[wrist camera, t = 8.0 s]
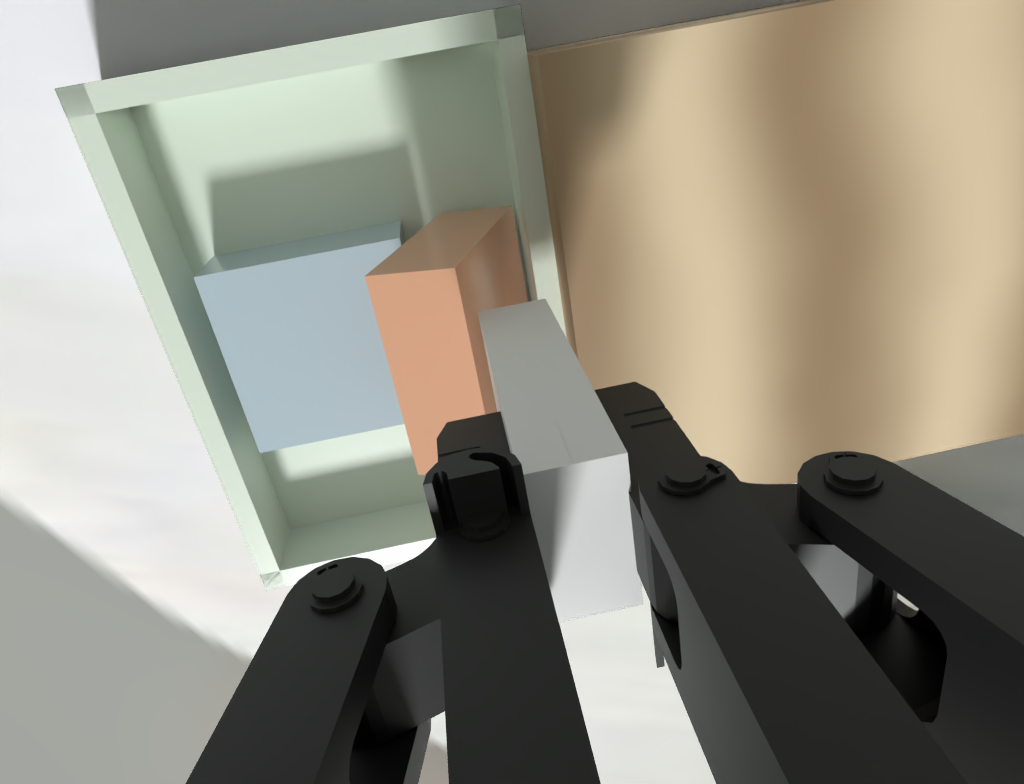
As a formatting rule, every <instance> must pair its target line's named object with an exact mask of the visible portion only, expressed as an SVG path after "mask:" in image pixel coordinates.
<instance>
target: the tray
mask: <svg viewBox="0 0 1024 784" xmlns="http://www.w3.org/2000/svg"><path fill="white" fill-rule="evenodd" d="M55 91H56V93H57V96H58V98H59V100H60V103H61V105H62V107H63V110H64V112H65V115H66V117H67V119H68V122H69V124H70V126H71V129H72V131H73V134H74V136H75V138H76V141H77V143H78V145H79V148H80V150H81V153H82V155H83V157H84V160H85V162H86V164H87V167H88V169H89V172H90V174H91V176H92V179H93V181H94V183H95V186H96V188H97V191H98V193H99V195H100V198H101V200H102V202H103V205H104V207H105V209H106V212H107V214H108V217H109V219H110V221H111V224H112V226H113V228H114V231H115V233H116V236H117V238H118V240H119V243H120V245H121V247H122V250H123V252H124V255H125V257H126V259H127V262H128V264H129V266H130V269H131V271H132V274H133V276H134V278H135V281H136V283H137V285H138V288H139V290H140V293H141V295H142V297H143V300H144V302H145V304H146V307H147V309H148V312H149V314H150V316H151V319H152V321H153V323H154V326H155V328H156V331H157V333H158V335H159V338H160V340H161V342H162V345H163V347H164V350H165V352H166V354H167V357H168V359H169V361H170V364H171V366H172V369H173V371H174V373H175V376H176V378H177V380H178V383H179V385H180V388H181V390H182V392H183V395H184V397H185V399H186V402H187V404H188V406H189V409H190V411H191V414H192V416H193V418H194V421H195V423H196V425H197V428H198V430H199V433H200V435H201V437H202V440H203V442H204V444H205V447H206V449H207V452H208V454H209V456H210V459H211V461H212V463H213V466H214V468H215V471H216V473H217V475H218V478H219V480H220V482H221V485H222V487H223V490H224V492H225V494H226V497H227V499H228V501H229V504H230V506H231V509H232V511H233V513H234V516H235V518H236V520H237V523H238V525H239V528H240V530H241V532H242V535H243V537H244V539H245V542H246V544H247V547H248V549H249V551H250V554H251V556H252V558H253V561H254V563H255V566H256V568H257V570H258V573H259V575H260V577H261V580H262V582H263V585H264V587H265V589H266V590H270V589H275V588H279V587H284V586H289V585H294V584H296V583H297V582H298V580H299V579H301V578H302V577H304V576H305V575H306V574H308V573H309V572H310V571H312V570H313V569H314V568H317V567H319V566H321V565H323V564H326V563H328V562H330V561H333V560H337V559H343V558H348V557H360V558H369V559H371V560H373V561H375V562H377V563H379V564H380V565H381V566H383V565H388V564H392V563H397V562H402V561H406V560H411V559H413V558H415V557H417V556H418V555H419V554H421V553H422V552H423V551H424V550H426V549H427V548H428V547H429V546H430V545H431V544H432V542H433V541H434V540H435V539H436V533H435V529H434V525H433V522H432V518H431V514H430V510H429V507H428V503H427V499H426V495H425V492H424V488H423V482H424V479H425V476H426V475H418V472H417V469H416V465H415V461H414V457H413V454H412V450H411V446H410V443H409V439H408V435H407V431H406V428H405V424H402V425H397V426H392V427H387V428H382V429H377V430H372V431H367V432H362V433H357V434H352V435H347V436H342V437H337V438H333V439H328V440H323V441H318V442H313V443H308V444H303V445H298V446H293V447H288V448H283V449H278V450H273V451H268V452H263V453H260V452H259V450H258V447H257V445H256V442H255V439H254V437H253V434H252V431H251V429H250V426H249V423H248V421H247V418H246V415H245V413H244V410H243V408H242V405H241V402H240V400H239V397H238V394H237V392H236V389H235V386H234V384H233V381H232V378H231V376H230V373H229V370H228V368H227V365H226V363H225V360H224V357H223V355H222V352H221V349H220V347H219V344H218V341H217V339H216V336H215V333H214V331H213V328H212V326H211V323H210V320H209V318H208V315H207V312H206V310H205V307H204V304H203V302H202V299H201V296H200V294H199V291H198V288H197V286H196V283H195V281H194V278H193V277H194V276H195V275H196V274H197V273H198V272H199V271H200V270H201V269H202V268H203V267H204V266H205V265H206V264H207V262H208V261H209V260H210V259H211V258H212V257H213V256H214V255H219V254H225V253H230V252H235V251H240V250H246V249H251V248H256V247H262V246H267V245H272V244H277V243H283V242H288V241H293V240H299V239H304V238H309V237H314V236H320V235H325V234H330V233H335V232H341V231H346V230H351V229H357V228H362V227H367V226H372V225H378V224H383V223H388V222H393V221H399V220H401V223H402V227H403V232H404V236H405V240H406V241H408V240H409V239H410V238H411V237H412V236H414V235H415V234H416V233H417V232H418V231H420V230H421V229H422V228H423V227H424V226H426V225H427V224H428V223H429V222H430V221H432V220H433V219H434V218H435V217H437V216H438V215H439V214H440V213H447V212H455V211H464V210H473V209H482V208H491V207H500V206H508V205H512V207H513V213H514V220H515V226H516V232H517V238H518V244H519V250H520V256H521V263H522V269H523V275H524V281H525V287H526V293H527V299H528V302H530V301H535V300H540V299H546V301H547V302H548V304H549V306H550V308H551V310H552V312H553V314H554V316H555V317H556V319H557V321H558V323H559V325H560V327H561V329H562V331H563V332H564V334H565V336H566V331H565V323H564V316H563V309H562V302H561V294H560V287H559V280H558V273H557V266H556V258H555V251H554V244H553V237H552V229H551V222H550V215H549V208H548V201H547V193H546V186H545V179H544V172H543V164H542V157H541V150H540V143H539V136H538V128H537V121H536V114H535V107H534V99H533V92H532V85H531V78H530V71H529V63H528V56H527V49H526V42H525V34H524V27H523V20H522V13H521V6H520V4H518V5H512V6H507V7H501V8H496V9H490V10H485V11H479V12H474V13H468V14H463V15H457V16H452V17H446V18H441V19H435V20H430V21H424V22H419V23H413V24H408V25H402V26H397V27H391V28H386V29H380V30H375V31H369V32H364V33H358V34H353V35H347V36H342V37H336V38H331V39H325V40H320V41H314V42H309V43H303V44H298V45H292V46H287V47H281V48H276V49H270V50H265V51H259V52H254V53H248V54H243V55H237V56H232V57H226V58H221V59H215V60H210V61H204V62H199V63H193V64H188V65H182V66H177V67H171V68H166V69H160V70H155V71H149V72H144V73H138V74H133V75H127V76H122V77H116V78H111V79H105V80H100V81H94V82H89V83H83V84H78V85H72V86H67V87H61V88H56V89H55Z"/></svg>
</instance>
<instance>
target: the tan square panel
mask: <svg viewBox="0 0 1024 784" xmlns="http://www.w3.org/2000/svg"><path fill="white" fill-rule="evenodd" d="M527 56H528V63H529V71H530V78H531V85H532V92H533V99H534V107H535V114H536V121H537V128H538V136H539V143H540V150H541V157H542V164H543V172H544V179H545V186H546V193H547V201H548V208H549V215H550V222H551V229H552V237H553V244H554V251H555V258H556V266H557V273H558V280H559V287H560V294H561V302H562V309H563V316H564V323H565V331H566V338H567V340H568V342H569V344H570V346H571V347H572V349H573V351H574V353H575V355H576V357H577V359H578V361H579V363H580V364H581V366H582V368H583V370H584V372H585V374H586V376H587V378H588V379H589V381H590V383H591V385H592V387H593V389H594V390H596V389H601V388H606V387H611V386H616V385H621V384H626V383H631V382H637V383H639V384H641V385H643V386H645V387H647V388H649V389H651V390H653V391H655V392H656V394H657V395H658V396H659V398H660V399H661V401H662V402H663V404H664V405H665V408H667V409H668V411H669V412H670V413H671V415H672V416H673V419H674V420H675V421H676V422H677V423H678V425H679V426H680V428H681V429H682V430H683V432H684V433H685V435H686V436H687V437H688V439H689V440H690V442H691V443H692V445H693V446H694V447H695V449H696V450H697V452H698V453H699V454H700V456H706V457H709V458H712V459H715V460H717V461H720V462H722V463H723V464H725V465H726V466H727V467H728V468H729V469H731V470H732V471H733V472H734V474H735V475H736V476H737V478H738V479H739V480H740V481H741V482H746V483H755V484H792V483H797V475H798V472H799V470H800V468H801V466H802V464H803V463H805V462H806V461H808V460H809V459H811V458H813V457H814V456H817V455H821V454H825V453H829V452H839V451H842V452H843V451H854V452H860V453H865V454H871V455H875V456H878V457H880V458H882V459H885V460H887V461H890V462H895V461H900V460H905V459H909V458H914V457H919V456H923V455H928V454H933V453H938V452H942V451H947V450H952V449H956V448H961V447H966V446H970V445H975V444H980V443H984V442H989V441H994V440H999V439H1003V438H1008V437H1013V436H1017V435H1022V434H1024V0H802V1H797V2H792V3H786V4H781V5H775V6H770V7H765V8H759V9H754V10H748V11H743V12H737V13H732V14H727V15H721V16H716V17H710V18H705V19H700V20H694V21H689V22H683V23H678V24H672V25H667V26H662V27H656V28H651V29H645V30H640V31H635V32H629V33H624V34H618V35H613V36H607V37H602V38H597V39H591V40H586V41H580V42H575V43H570V44H564V45H559V46H553V47H548V48H542V49H537V50H532V51H527Z"/></svg>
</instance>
